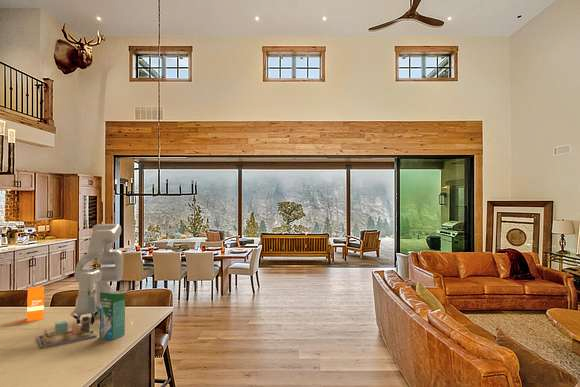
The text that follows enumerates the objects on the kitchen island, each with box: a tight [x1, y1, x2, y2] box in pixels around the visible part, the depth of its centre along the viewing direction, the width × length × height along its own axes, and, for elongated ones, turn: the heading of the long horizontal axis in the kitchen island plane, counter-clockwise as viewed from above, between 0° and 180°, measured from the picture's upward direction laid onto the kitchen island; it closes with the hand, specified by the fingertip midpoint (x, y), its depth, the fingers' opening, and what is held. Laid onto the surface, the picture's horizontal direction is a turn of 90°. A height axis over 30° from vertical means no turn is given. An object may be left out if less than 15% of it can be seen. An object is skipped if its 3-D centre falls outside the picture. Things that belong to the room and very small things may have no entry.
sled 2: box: [42, 320, 91, 345], centre depth 199 cm, size 21×7×8 cm, turn 129°
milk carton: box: [98, 290, 126, 341], centre depth 205 cm, size 9×9×25 cm
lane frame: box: [36, 326, 98, 350], centre depth 202 cm, size 26×19×1 cm
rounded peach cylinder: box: [71, 322, 82, 335], centre depth 201 cm, size 4×4×5 cm
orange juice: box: [26, 285, 45, 322], centre depth 237 cm, size 8×9×20 cm
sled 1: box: [43, 316, 91, 338], centre depth 206 cm, size 21×7×8 cm, turn 129°
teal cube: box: [54, 320, 68, 334], centre depth 205 cm, size 5×5×5 cm
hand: (85, 325), depth 212 cm, fingers open, 6 cm apart
